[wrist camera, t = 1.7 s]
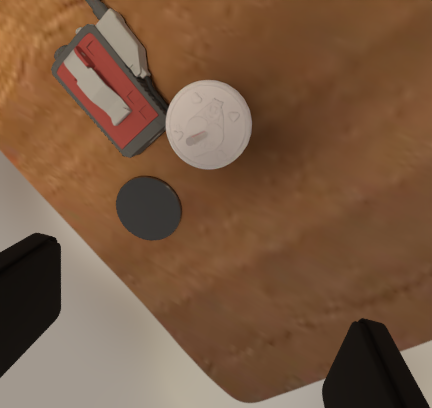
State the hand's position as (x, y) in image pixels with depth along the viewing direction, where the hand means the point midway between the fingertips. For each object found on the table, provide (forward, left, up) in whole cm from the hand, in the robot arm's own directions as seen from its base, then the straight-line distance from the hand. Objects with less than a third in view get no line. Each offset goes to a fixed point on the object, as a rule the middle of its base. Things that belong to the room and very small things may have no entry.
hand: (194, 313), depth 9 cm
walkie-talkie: (-7, -16, -24) cm, 29 cm away
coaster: (+8, -10, -24) cm, 27 cm away
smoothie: (-4, -3, -24) cm, 24 cm away
